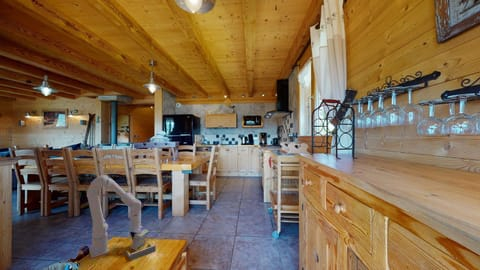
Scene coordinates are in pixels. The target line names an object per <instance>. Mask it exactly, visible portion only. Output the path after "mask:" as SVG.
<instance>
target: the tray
mask: <svg viewBox="0 0 480 270" xmlns="http://www.w3.org/2000/svg"><path fill="white" fill-rule="evenodd" d="M147 246H148V247H146V248H143V249H140V250H137V251H135V252H132V253H130V251H129V250H126V251H125V255H126V256H127V258H128V259H129V260H130V262H131V261H134V260H136V259H139V258H141V257H144V256H146V255H149V254H151V253H154V252H156V248H157V247H156V244H154V245H153V244H152V242H148V245H147Z"/></svg>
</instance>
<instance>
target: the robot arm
mask: <svg viewBox="0 0 480 270" xmlns="http://www.w3.org/2000/svg"><path fill="white" fill-rule="evenodd" d="M102 188H104V189H111V190H112V191H113V192H115V193H116V194H117V195H118V196H119V197H120V201H122V202H123V203H124V204H125V205H126V206H127V207H129V208H130V222H129V224H130V225H129V226H130V227H129V234H130V236H131V242H132V241H133V238H134V235H135V234H136V233H137V234H141V230H142V229H144V227H143V225H142V202H141V200H140V199H138V198H136V197H135V195H134V194H133V193H132V192H130V191H129V192H126V191H125V190H124V189H123V188H122V187H121V186H120V185H119V184H118V183H117V182H116V181H115V180H113V178H112V177H110V176H109V175H107V174H100V175H99V176H97V177H95V178H94V179H93V180H92V181H91V182H90V184H89V187H88V188H87V190H86V196H87V200H88V206H89V210H90V215H91V220H92V233H91V237H92V238H91V249H90V250H89V254H90V257H91V259H93V258H96V257H100V256H102V255H103V256H104V255H105V254H108V253H109V252H110V250H109V248H108V242H109V241H108V239H109V237H108V232H107V230H108V229H109V224H108V223H107V222H106V219H105V218H104V215H103V213H104V212H103V209H102V205H101V198H100V195H99V192H100V191H101V189H102Z"/></svg>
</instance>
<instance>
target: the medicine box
mask: <svg viewBox="0 0 480 270" xmlns="http://www.w3.org/2000/svg"><path fill="white" fill-rule="evenodd" d="M149 232H150V231H149V230H148V229H146V228H141V234H137V233H136V234H135V235H134V238H133V241H132V240H131V244H130V249H132V250H134V251H138V250H139V249H141V247H142V246H144V245H145V244H146V242H147V240H148V239H147V238H148V236H149V234H150V233H149Z"/></svg>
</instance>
